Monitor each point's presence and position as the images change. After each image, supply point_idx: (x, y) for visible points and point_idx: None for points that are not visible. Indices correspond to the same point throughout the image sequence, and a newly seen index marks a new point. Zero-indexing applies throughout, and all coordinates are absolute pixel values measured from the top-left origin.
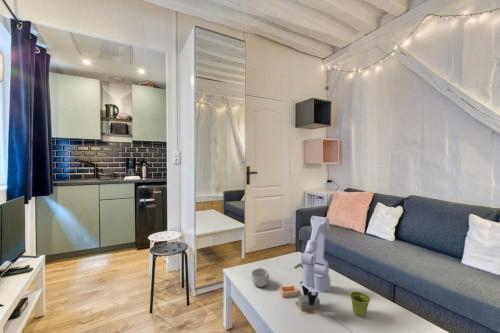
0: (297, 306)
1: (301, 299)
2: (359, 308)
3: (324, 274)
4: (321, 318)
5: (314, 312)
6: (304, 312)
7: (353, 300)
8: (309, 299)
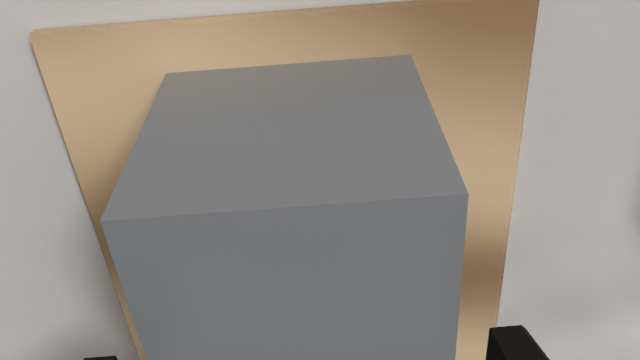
0: (353, 22)
1: (248, 254)
2: None
3: None
4: (14, 350)
5: None
6: (129, 128)
7: None
8: None
